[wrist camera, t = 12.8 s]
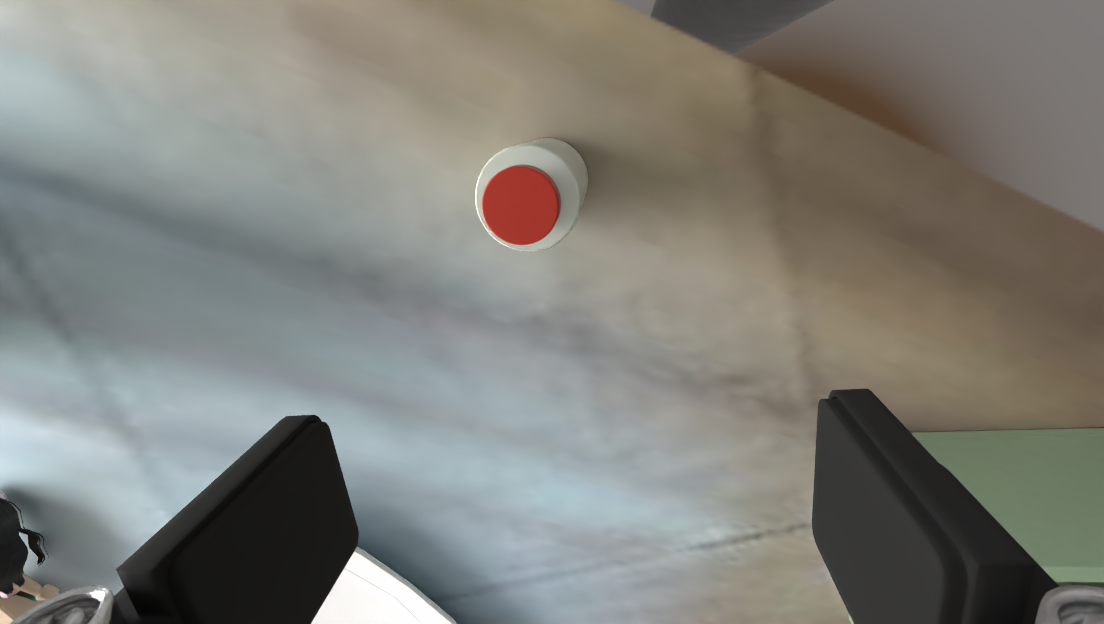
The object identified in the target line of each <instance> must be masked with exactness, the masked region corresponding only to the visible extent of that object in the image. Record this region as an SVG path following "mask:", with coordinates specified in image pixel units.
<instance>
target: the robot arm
mask: <svg viewBox="0 0 1104 624" xmlns="http://www.w3.org/2000/svg"><path fill="white" fill-rule="evenodd" d="M812 529H813V535H814V539H815V542H816V545H817V547H818V549H819V551H820V553H821V556H822V558H823V560H824V562H825V564H826V566H827V568H828V570H829V572H830V574H831V577H832V579H833V581H834V583H835V585H836V587H837V589H838V591H839V593H840V596H841V598H842V600H843V602H844V604H845V606H846V608H847V610H848V612H849V614H850V617H851V619H852V621H853V623H854V624H1104V588H1101V587H1094V586H1087V585H1067V586H1059V585H1058V584H1057V583H1056V582H1055V581H1054V580H1053V579H1052V578H1051V577H1050V576H1049V575H1048V574H1047V573H1046V572H1045V571H1044V570H1043V568H1042V567H1041V566H1040V565H1039V564H1038V563H1037V562H1036V561H1035V560H1034V559H1033V558H1032V557H1031V556H1030V555H1029V554H1028V553H1027V552H1026V551H1025V550H1024V549H1023V547H1022V546H1021V545H1020V544H1019V543H1018V542H1017V541H1016V540H1015V539H1014V538H1013V537H1012V536H1011V535H1010V534H1009V533H1008V532H1007V531H1006V530H1005V529H1004V528H1003V527H1002V525H1001V524H1000V523H999V522H998V521H997V520H996V519H995V518H994V517H993V516H992V515H991V514H990V513H989V512H988V511H987V510H986V509H985V508H984V507H983V506H982V504H981V503H980V502H979V501H978V500H977V499H976V498H975V497H974V496H973V495H972V494H971V493H970V492H969V491H968V490H967V489H966V488H965V487H964V486H963V485H962V483H961V482H960V481H959V480H958V479H957V478H956V477H955V476H954V475H953V474H952V473H951V472H950V471H949V470H948V469H947V468H945V467H944V466H943V465H942V464H939V462H938V461H937V460H936V459H935V458H934V457H933V456H932V455H931V454H930V453H929V452H928V451H927V450H926V449H925V448H924V447H923V446H922V444H921V443H920V442H919V441H918V440H917V439H916V438H915V437H914V436H913V435H912V434H911V433H910V432H909V431H908V430H907V429H906V428H905V426H904V425H903V424H902V423H901V422H900V421H899V420H898V419H897V418H896V417H895V416H894V415H893V414H892V413H891V412H890V411H889V410H888V408H887V407H886V406H885V405H884V404H883V403H882V402H881V401H880V400H879V399H878V398H877V397H876V396H875V395H874V394H873V393H872V391H870V390H869V389H850V390H832V391H831V392H830V395H829V398H828V399H821V400H820V401H819V405H818V419H817V437H816V456H815V475H814V494H813V512H812ZM358 537H359V532H358V527H357V524H356V520H355V517H354V513H353V509H352V506H351V502H350V499H349V495H348V492H347V488H346V485H345V481H344V478H343V474H342V470H341V467H340V463H339V460H338V456H337V453H336V449H335V446H334V442H333V439H332V435H331V431H330V428H329V426H328V425H327V423H325V422H322V421H321V419H320V418H319V417H318V416H316V415H303V416H286V417H285V418H283V419H282V420H281V421H279V422H278V423H277V424H276V425H275V426H274V427H273V428H272V429H271V430H269V431H268V432H267V433H266V434H265V435H264V436H263V437H262V438H261V439H260V440H258V441H257V442H256V443H255V444H254V445H253V446H252V447H251V448H250V449H249V450H247V451H246V452H245V453H244V454H243V455H242V456H241V457H240V458H239V459H237V460H236V461H235V462H234V463H233V464H232V465H231V466H230V467H229V468H228V469H226V470H225V471H224V472H223V473H222V474H221V475H220V476H219V477H218V478H217V479H215V480H214V481H213V482H212V483H211V484H210V485H209V486H208V487H207V488H205V489H204V490H203V491H202V492H201V493H200V494H199V495H198V496H197V497H196V498H194V499H193V500H192V501H191V502H190V503H189V504H188V505H187V506H186V507H185V508H183V509H182V510H181V511H180V512H179V513H178V514H177V515H176V516H175V517H173V518H172V519H171V520H170V521H169V522H168V523H167V524H166V525H165V526H164V527H162V528H161V529H160V530H159V531H158V532H157V533H156V534H155V535H154V536H153V537H151V538H150V539H149V540H148V541H147V542H146V543H145V544H144V545H143V546H141V547H140V548H139V549H138V550H137V551H136V552H135V553H134V554H133V555H132V556H130V557H129V558H128V559H127V560H126V561H125V562H124V563H123V564H122V565H121V566H119V567H118V568H117V569H116V570H117V572H118V574H119V577H120V579H121V581H122V583H123V585H124V588H123V589H122V590H120V591H119V592H118V593H117V594H116V595H115V596H114V595H113V593H112V591H111V590H109V589H108V588H106V587H105V586H96V585H91V586H85V587H80V588H76V589H73V590H70V591H67V592H64V593H61V594H58V595H56V596H54V597H52V598H50V599H48V600H46V601H44V602H42V603H40V604H38V605H36V606H35V607H33V608H31V609H30V610H28V611H27V612H25V613H23V614H22V615H20V616H19V617H18V618H16V619H15V620H14V621H12V622H11V623H10V624H311V623H312V621H313V619H314V618H315V616H316V614H317V613H318V611H319V609H320V608H321V606H322V604H323V603H324V601H325V599H326V598H327V596H328V594H329V593H330V591H331V589H332V588H333V586H334V584H335V583H336V581H337V579H338V578H339V576H340V574H341V573H342V571H343V569H344V568H345V566H346V564H347V563H348V561H349V559H350V558H351V556H352V554H353V553H354V551H355V549H356V547H357V543H358Z"/></svg>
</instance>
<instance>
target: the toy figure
mask: <svg viewBox="0 0 1104 624" xmlns="http://www.w3.org/2000/svg"><path fill="white" fill-rule="evenodd" d="M12 504H13V505H14V506H15V507H16V508H17V509H18V510H19V511H20V509H19V508H18V507H17V506H16V505H15V504H14V503H12V502H10V501H8V500H7V498H6V496H5V494H4V493H3V492H1V491H0V624H10V623H11V622H12V621H14V620H15V619H16V618H18V617H19V616H20V615H22V614H23V613H25V612H27V611H28V610H30V609H31V608H33V607H35V606H36V605H38V604H40V603H42V602H44V601H46V600H48V599H50V598H52V597H54V596H56V595H58V594H59V592H60V591H59V589H58V588H57V587H55V586H53V585H51V584H46V585H44V586H43V587H41V585H40V584H38V583H37V582H36V581H34V580H33V579H31V578H30V577H28V576H27V575H26V574H24V571H23V567H24V564H25V562H26V560H27V556H28V549H27V546H26V545H25V543H24V542H23V540H22V539H21V537H20V536H19V532H21V533H24V534H27V535H28V544H29V548H30V549H31V550H32V551H33V552H34V553H35V554H36V555H37V556H38V562H37V565H38V564H39V563H41V562H42V563H43V562H44V560H45V555H44V553H43V552H42V550H41V548H40V537H39V536H38V535H40V536H42V535H41V534H39V533H36V532H33V531H30V530H28V529H25V528H24V526H23V528H24V529H22V528H21V526H20V522H19V518H18V514H17V511H16V510H15V508H14V507H13V506H12ZM20 514H21V511H20ZM21 519H22V516H21ZM22 523H23V521H22ZM18 531H19V532H18ZM37 534H38V535H37ZM42 537H43V536H42ZM38 541H39V545H38V544H37V542H38ZM43 547H44V538H43ZM44 549H45V548H44ZM45 551H46V550H45ZM47 554H48V553H47ZM48 558H49V556H48ZM43 559H44V560H43ZM42 560H43V561H42ZM42 563H41V564H42ZM41 564H40V565H41ZM40 565H39V566H40Z"/></svg>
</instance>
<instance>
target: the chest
mask: <svg viewBox="0 0 1104 624" xmlns="http://www.w3.org/2000/svg"><path fill="white" fill-rule="evenodd" d="M910 433H911V434H912V435H913V436H914V437H915V438H916V439H917V440H918V441H919V442H920V443H921V444H922V446H923V447H924V448H925V449H926V450H927V451H928V452H929V453H930V454H931V455H932V456H933V457H934V458H935V459H936V460H937V461H938V462H939V464H942V465H943V466H944V467H945V468H947V469H948V470H949V471H950V472H951V473H952V474H953V475H954V476H955V477H956V478H957V479H958V480H959V481H960V482H961V483H962V485H963V486H964V487H965V488H966V489H967V490H968V491H969V492H970V493H971V494H972V495H973V496H974V497H975V498H976V499H977V500H978V501H979V502H980V503H981V504H982V506H983V507H984V508H985V509H986V510H987V511H988V512H989V513H990V514H991V515H992V516H993V517H994V518H995V519H996V520H997V521H998V522H999V523H1000V524H1001V525H1002V527H1003V528H1004V529H1005V530H1006V531H1007V532H1008V533H1009V534H1010V535H1011V536H1012V537H1013V538H1014V539H1015V540H1016V541H1017V542H1018V543H1019V544H1020V545H1021V546H1022V547H1023V549H1024V550H1025V551H1026V552H1027V553H1028V554H1029V555H1030V556H1031V557H1032V558H1033V559H1034V560H1035V561H1036V562H1037V563H1038V564H1039V565H1040V566H1041V567H1042V568H1043V570H1044V571H1045V572H1046V573H1047V574H1048V575H1049V576H1050V577H1051V578H1052V579H1053V580H1054V581H1055V582H1056V583H1057V584H1058V585H1059V586H1067V585H1087V586H1094V587H1101V588H1104V428H1079V429H1037V430H994V431H952V432H910ZM849 620H850V622H851V624H854V623H853V621H852V619H851V617H850V614H849Z"/></svg>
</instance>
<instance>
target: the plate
mask: <svg viewBox="0 0 1104 624" xmlns="http://www.w3.org/2000/svg"><path fill="white" fill-rule="evenodd" d="M311 624H457V623H456V622H455V620H454V619H453V618H452V617H451V616H450V615H449V614H447V613H446V612H445V611H444V610H443V609H441V608H440V607H439V606H438V605H437V604H435V603H434V602H433V601H432V600H431V599H429V598H428V597H427V596H426V595H425V594H423V593H422V592H421V591H420V590H419V589H417V588H416V587H415V586H414V585H413V584H412V583H410V582H409V581H407V580H406V579H405V578H403V577H402V576H400V575H399V574H397V573H396V572H395V571H393V570H392V569H390V568H389V567H387V566H386V565H384V564H383V563H382V562H380V561H379V560H377V559H376V558H374V557H373V556H372V555H370V554H369V553H367V552H366V551H364V550H363V549H361V548H359V547H356V549H355V551H354V553H353V554H352V556H351V558H350V559H349V561H348V563H347V564H346V566H345V568H344V569H343V571H342V573H341V574H340V576H339V578H338V579H337V581H336V583H335V584H334V586H333V588H332V589H331V591H330V593H329V594H328V596H327V598H326V599H325V601H324V603H323V604H322V606H321V608H320V609H319V611H318V613H317V614H316V616H315V618H314V619H313V621H312V623H311Z"/></svg>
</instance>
